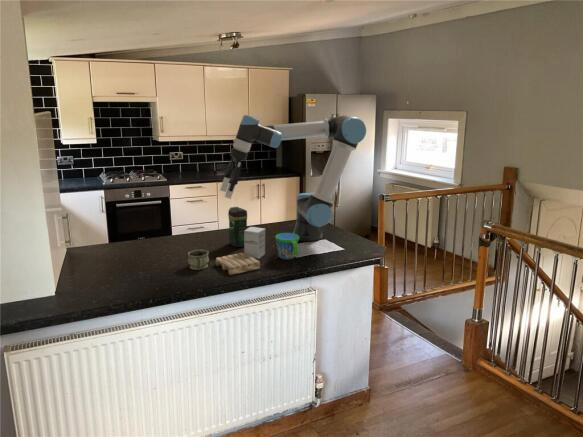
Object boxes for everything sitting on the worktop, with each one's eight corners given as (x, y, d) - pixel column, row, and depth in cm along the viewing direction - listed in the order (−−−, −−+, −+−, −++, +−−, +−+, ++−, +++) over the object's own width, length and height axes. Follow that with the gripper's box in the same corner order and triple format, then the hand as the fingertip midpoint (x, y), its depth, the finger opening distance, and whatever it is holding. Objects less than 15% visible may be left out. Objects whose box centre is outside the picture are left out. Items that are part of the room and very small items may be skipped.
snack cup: (305, 261, 206) (305, 239, 203) (283, 264, 201) (283, 242, 199) (290, 250, 219) (290, 230, 217) (269, 253, 215) (269, 232, 212)
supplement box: (243, 257, 210) (243, 230, 207) (251, 252, 217) (251, 226, 214) (258, 259, 208) (258, 232, 204) (265, 254, 214) (265, 228, 211)
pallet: (244, 258, 208) (244, 252, 207) (260, 268, 197) (260, 261, 196) (215, 264, 201) (215, 258, 200) (230, 274, 189) (230, 268, 189)
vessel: (211, 270, 195) (211, 256, 193) (190, 272, 192) (189, 258, 190) (206, 260, 205) (205, 247, 204) (186, 263, 202) (185, 249, 201)
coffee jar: (250, 245, 226) (249, 208, 221) (235, 248, 221) (235, 211, 216) (240, 240, 233) (240, 204, 228) (226, 243, 229) (225, 206, 224)
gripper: (227, 143, 217) (213, 186, 220) (237, 150, 194) (221, 198, 197) (242, 148, 219) (228, 190, 223) (254, 156, 196) (238, 203, 200)
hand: (225, 194), depth 210 cm, fingers open, 13 cm apart
